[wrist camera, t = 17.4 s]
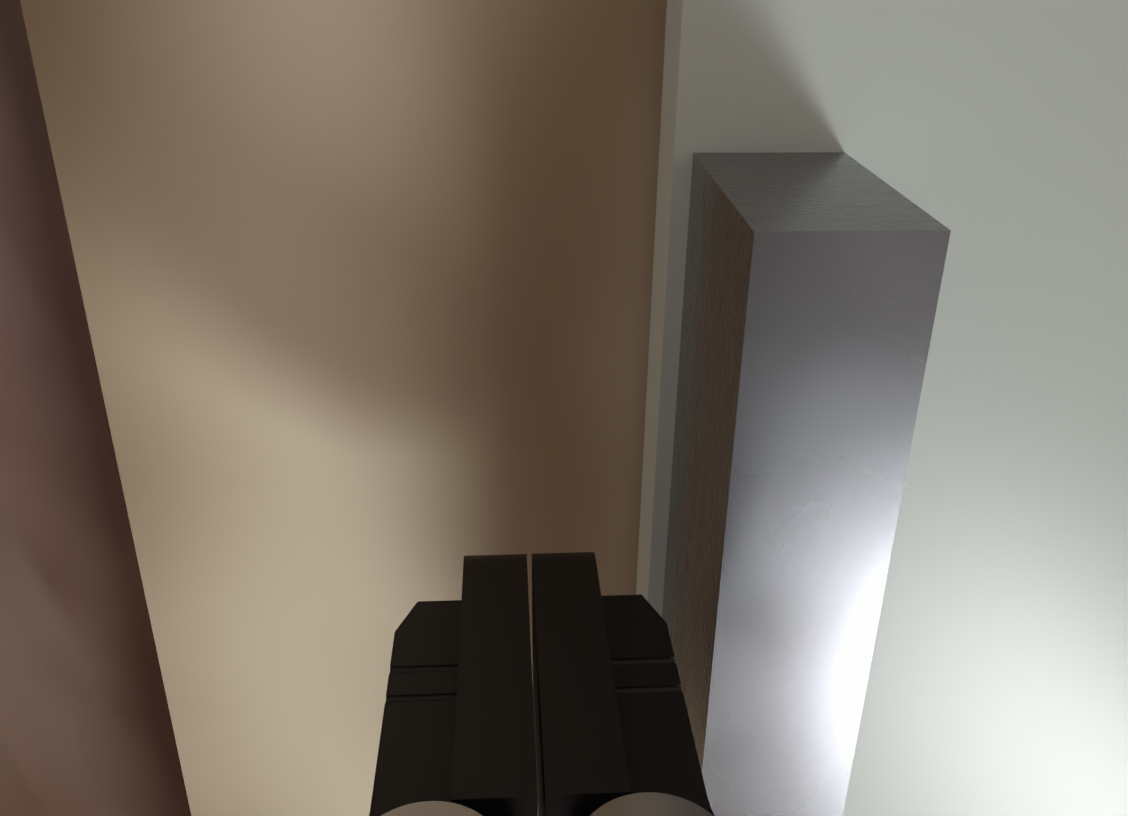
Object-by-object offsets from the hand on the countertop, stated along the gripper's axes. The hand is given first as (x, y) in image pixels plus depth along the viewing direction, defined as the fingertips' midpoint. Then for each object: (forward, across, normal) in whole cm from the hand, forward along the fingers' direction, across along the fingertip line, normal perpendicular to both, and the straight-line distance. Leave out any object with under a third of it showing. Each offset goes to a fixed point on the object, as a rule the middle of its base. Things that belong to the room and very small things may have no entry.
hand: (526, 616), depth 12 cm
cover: (+2, -7, 0) cm, 8 cm away
